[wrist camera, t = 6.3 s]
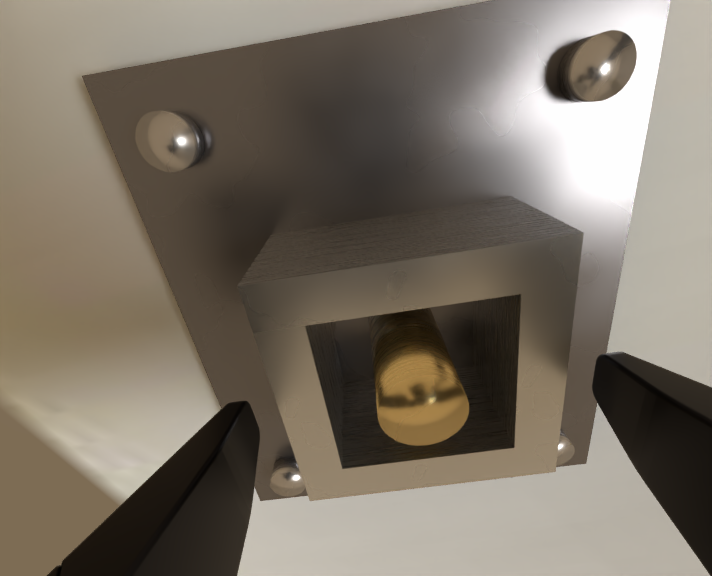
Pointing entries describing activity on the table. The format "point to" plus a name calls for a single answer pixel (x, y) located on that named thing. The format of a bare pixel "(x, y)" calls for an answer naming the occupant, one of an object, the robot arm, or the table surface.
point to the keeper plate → (390, 181)
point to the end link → (410, 292)
